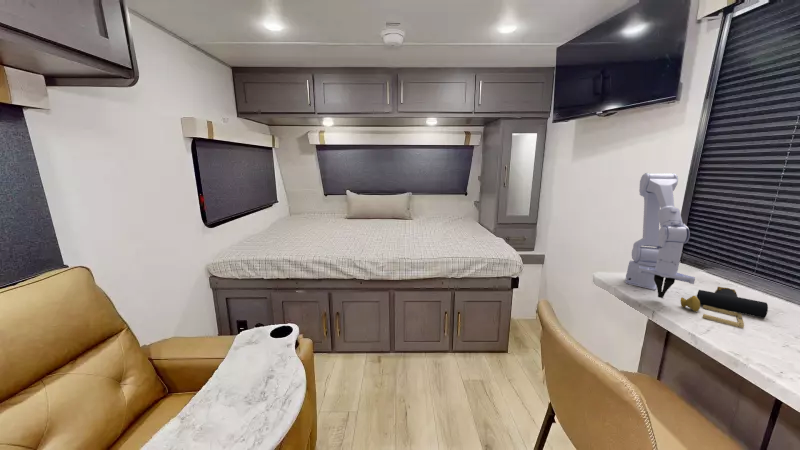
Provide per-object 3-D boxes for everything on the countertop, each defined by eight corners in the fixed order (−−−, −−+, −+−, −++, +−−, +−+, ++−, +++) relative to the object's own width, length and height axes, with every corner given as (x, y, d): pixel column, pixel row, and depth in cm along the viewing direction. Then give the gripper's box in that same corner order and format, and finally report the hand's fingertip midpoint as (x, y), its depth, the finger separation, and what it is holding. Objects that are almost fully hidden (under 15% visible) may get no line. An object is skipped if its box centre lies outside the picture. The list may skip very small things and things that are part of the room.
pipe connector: (696, 280, 108) (758, 292, 99) (693, 294, 110) (754, 306, 100) (700, 292, 100) (769, 305, 90) (697, 306, 101) (764, 321, 92)
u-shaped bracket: (702, 317, 93) (703, 314, 93) (702, 307, 99) (703, 304, 99) (743, 328, 87) (744, 325, 87) (740, 316, 94) (741, 313, 93)
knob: (700, 309, 98) (704, 296, 97) (696, 314, 95) (699, 300, 94) (682, 304, 102) (685, 290, 101) (677, 308, 99) (680, 294, 98)
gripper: (639, 257, 103) (632, 293, 105) (697, 268, 92) (688, 307, 95) (642, 253, 107) (636, 287, 110) (698, 263, 97) (689, 300, 100)
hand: (660, 296), depth 103 cm, fingers closed
